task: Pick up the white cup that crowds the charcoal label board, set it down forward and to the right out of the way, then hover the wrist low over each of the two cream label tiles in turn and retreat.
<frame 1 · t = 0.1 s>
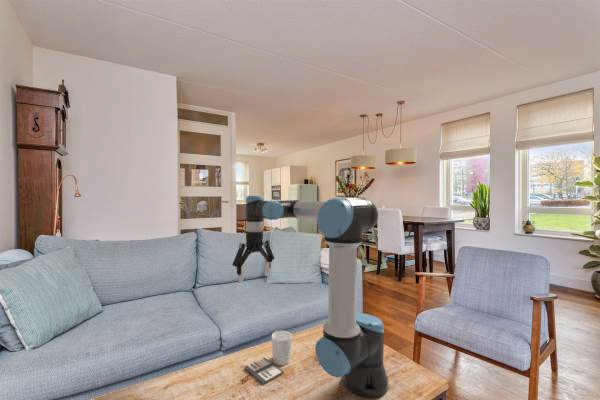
hand: (254, 278, 125), 28 cm above the table, fingers open, 13 cm apart
label board: (263, 371, 105), on the table
white cup: (281, 360, 112), on the table
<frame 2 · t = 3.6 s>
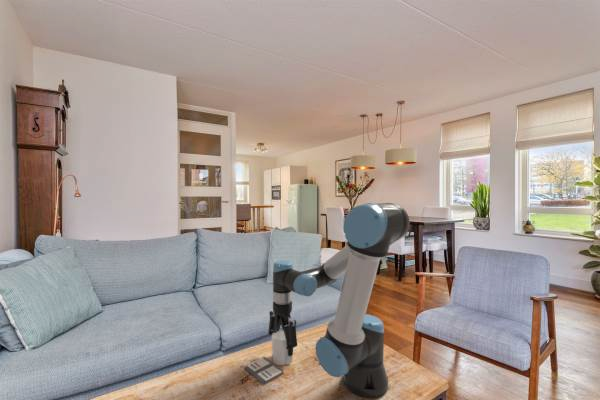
hand: (282, 358, 113), 1 cm above the table, fingers closed on white cup, 7 cm apart
white cup: (281, 360, 112), on the table, touching gripper
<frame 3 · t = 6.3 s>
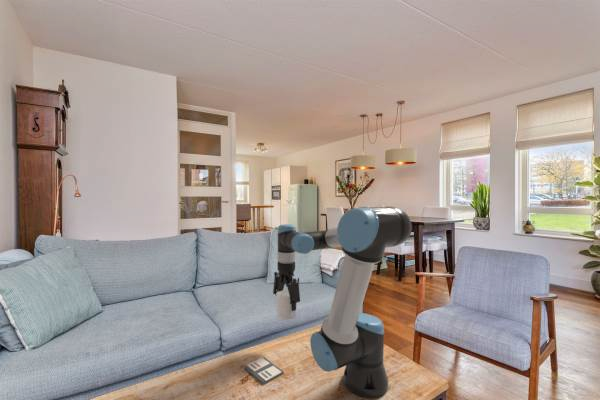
hand: (285, 314, 121), 14 cm above the table, fingers closed on white cup, 7 cm apart
white cup: (285, 316, 121), point 13 cm above the table, touching gripper
when the fingers open (2 cm above the table, at t = 9.1 s): white cup drops 1 cm, on the table.
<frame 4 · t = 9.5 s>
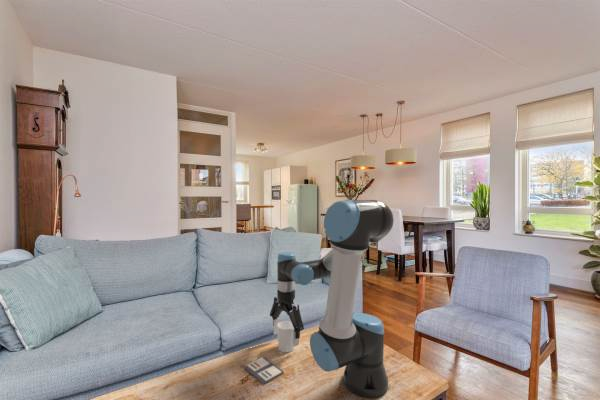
hand: (285, 339, 122), 3 cm above the table, fingers open, 12 cm apart
white cup: (286, 348, 121), on the table
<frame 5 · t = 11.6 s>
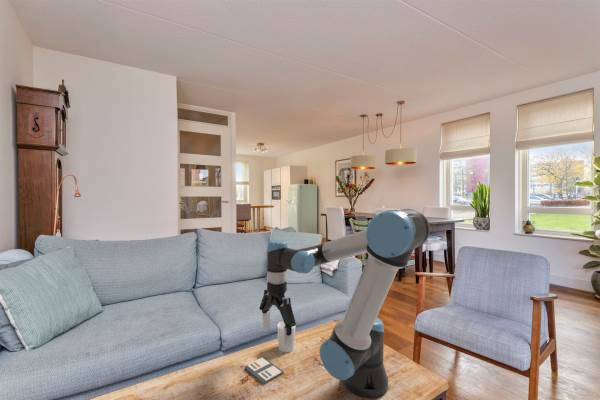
hand: (276, 335, 110), 11 cm above the table, fingers open, 13 cm apart
nothing on the table moved.
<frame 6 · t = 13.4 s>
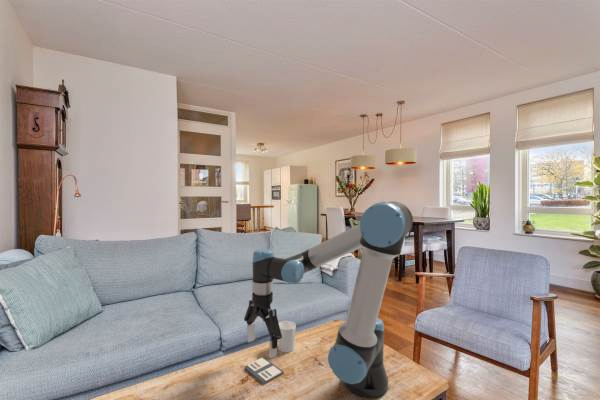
hand: (261, 348, 106), 8 cm above the table, fingers open, 13 cm apart
nothing on the table moved.
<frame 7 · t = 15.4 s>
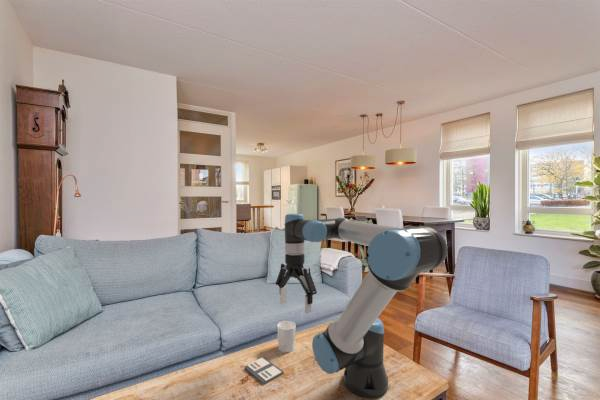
hand: (295, 307, 111), 21 cm above the table, fingers open, 13 cm apart
nothing on the table moved.
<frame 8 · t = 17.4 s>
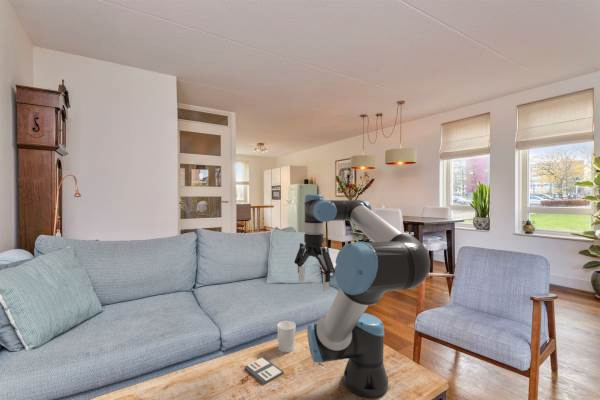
hand: (313, 285, 115), 29 cm above the table, fingers open, 13 cm apart
nothing on the table moved.
at the end: white cup inside the target area (0.9 cm from its centre), on the table; white cup tilted 0°; white cup moved 8.8 cm from its start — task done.
